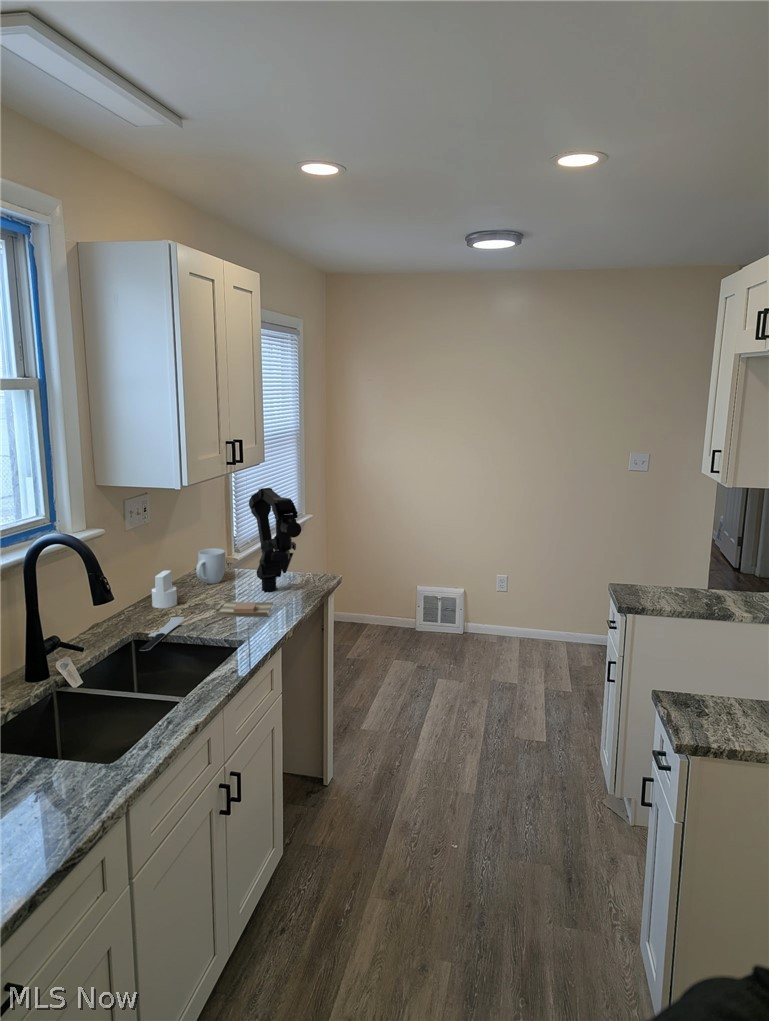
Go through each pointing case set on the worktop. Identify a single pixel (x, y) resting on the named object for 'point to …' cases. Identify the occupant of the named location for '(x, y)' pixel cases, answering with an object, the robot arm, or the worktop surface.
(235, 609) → the tile
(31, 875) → the worktop surface
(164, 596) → the base with upright slab
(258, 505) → the robot arm
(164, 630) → the kitchen cleaver
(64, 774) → the worktop surface
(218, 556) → the mug
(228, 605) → the board
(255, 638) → the worktop surface
